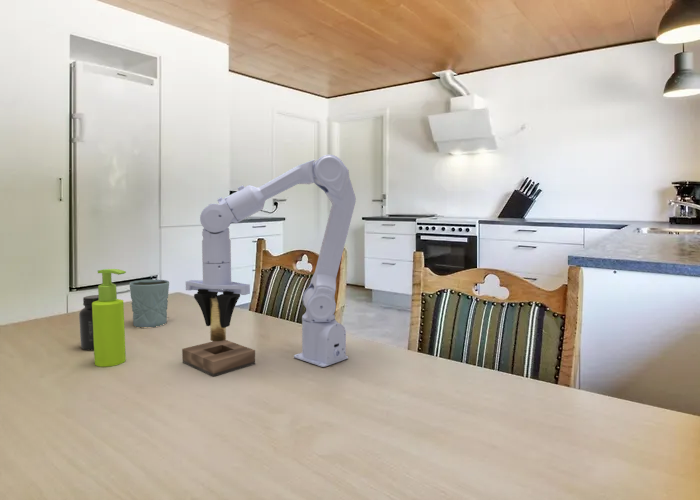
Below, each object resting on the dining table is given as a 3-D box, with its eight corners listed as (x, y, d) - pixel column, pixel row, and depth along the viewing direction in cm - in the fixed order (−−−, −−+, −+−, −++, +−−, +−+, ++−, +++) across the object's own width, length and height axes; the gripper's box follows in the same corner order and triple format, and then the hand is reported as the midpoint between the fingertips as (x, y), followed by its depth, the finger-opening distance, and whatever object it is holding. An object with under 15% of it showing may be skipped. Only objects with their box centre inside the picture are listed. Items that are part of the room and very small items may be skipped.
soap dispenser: (117, 368, 94) (113, 271, 92) (88, 365, 95) (83, 270, 93) (136, 359, 100) (132, 268, 98) (108, 356, 101) (104, 267, 99)
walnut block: (255, 363, 97) (254, 350, 97) (213, 376, 90) (213, 361, 90) (223, 351, 105) (223, 338, 105) (182, 362, 98) (182, 348, 97)
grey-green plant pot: (122, 326, 126) (121, 283, 124) (148, 318, 135) (147, 278, 134) (153, 330, 123) (151, 285, 122) (177, 321, 132) (176, 280, 131)
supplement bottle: (119, 342, 111) (117, 294, 110) (101, 351, 105) (99, 299, 103) (93, 341, 112) (91, 293, 111) (73, 350, 105) (71, 299, 104)
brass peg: (229, 338, 97) (228, 297, 97) (216, 342, 95) (216, 299, 94) (219, 336, 99) (219, 295, 98) (207, 339, 97) (206, 297, 96)
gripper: (257, 261, 97) (257, 324, 98) (199, 258, 102) (201, 318, 103) (238, 265, 90) (239, 332, 92) (178, 261, 95) (179, 326, 96)
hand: (217, 325), depth 97 cm, fingers closed on brass peg, 3 cm apart
